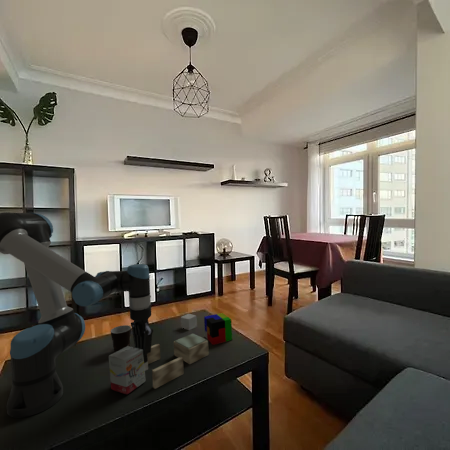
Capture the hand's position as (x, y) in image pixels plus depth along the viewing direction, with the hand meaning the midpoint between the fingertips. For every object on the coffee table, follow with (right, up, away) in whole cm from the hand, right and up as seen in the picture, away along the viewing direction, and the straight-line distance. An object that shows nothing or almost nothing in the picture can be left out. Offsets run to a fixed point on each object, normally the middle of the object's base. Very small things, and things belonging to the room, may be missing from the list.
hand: (143, 369), depth 99 cm
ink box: (-4, -3, -4) cm, 7 cm away
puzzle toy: (+27, -2, +30) cm, 41 cm away
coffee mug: (-16, -3, +23) cm, 29 cm away
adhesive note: (+11, -2, +46) cm, 47 cm away
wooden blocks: (+9, -2, +9) cm, 14 cm away
